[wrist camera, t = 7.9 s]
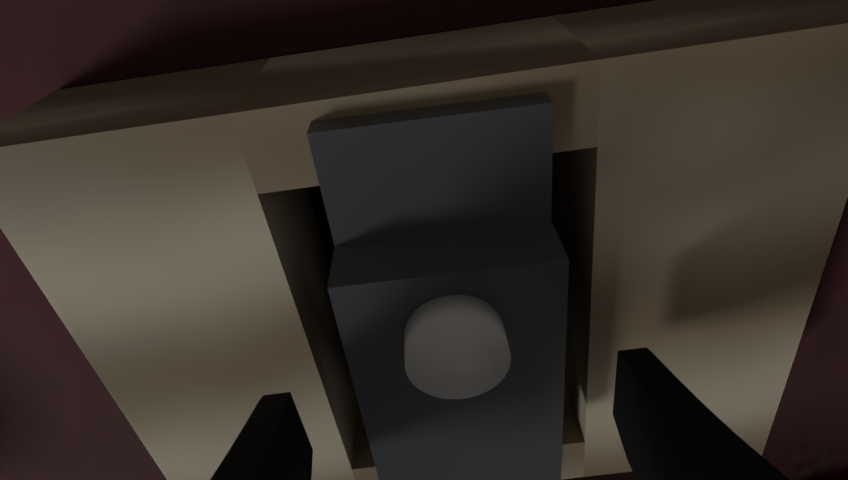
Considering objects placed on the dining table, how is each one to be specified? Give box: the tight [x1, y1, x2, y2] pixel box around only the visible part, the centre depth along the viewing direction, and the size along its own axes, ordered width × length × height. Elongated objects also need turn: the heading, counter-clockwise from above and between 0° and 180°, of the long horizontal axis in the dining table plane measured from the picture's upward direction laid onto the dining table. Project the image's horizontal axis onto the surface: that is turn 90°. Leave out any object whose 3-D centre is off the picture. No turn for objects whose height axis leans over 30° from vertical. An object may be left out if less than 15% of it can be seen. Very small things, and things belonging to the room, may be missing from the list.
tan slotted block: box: [0, 0, 848, 480], centre depth 15 cm, size 13×18×4 cm
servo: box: [307, 92, 569, 480], centre depth 14 cm, size 12×4×7 cm, turn 7°
